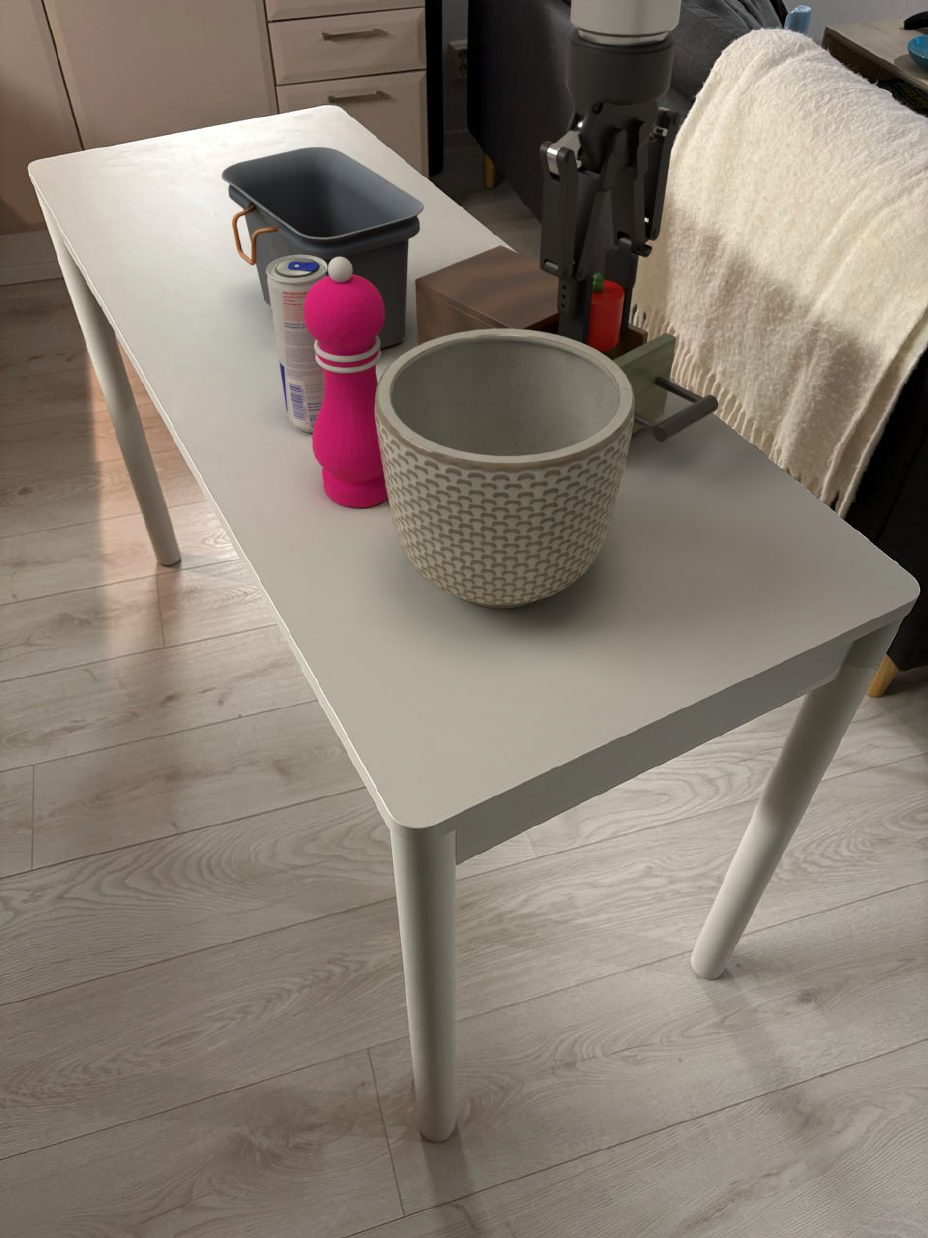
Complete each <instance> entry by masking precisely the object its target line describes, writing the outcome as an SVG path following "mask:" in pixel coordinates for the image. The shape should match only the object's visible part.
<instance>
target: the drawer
mask: <svg viewBox="0 0 928 1238" xmlns="http://www.w3.org/2000/svg"><path fill="white" fill-rule="evenodd" d="M536 331H539V332H546V333H551V334H555V335H558V331H559V320H558V321H556V322H553V323H551V324H549V325H547V326H545V327H543V328H541V329H539V330H536ZM648 338H649V331H648V330H645V329H644V328H641V327H638V326H637V325H634V324H632V323H630V322H629V325H628V331H626V332H624V333H620V336H619V342H618V344H617V345H616V346H615V347H613V348H612V349H609V350H606V351H600V353H602V354H604V355H605V356H607V357H608V358H609V359H611V360H612V361H613V362H614V363H615V364H617V365H618V366H619V367H620V368H621V370H622V371H623V372H624V373H625V374H626V376H627V378H628V379H629V381H630V383H631V385H632V389H633V394H634V399H635V400H634V405H635V409H634V422H633V429H632V434H634V433H635V432H638V431H639V430H641V429H643V428H644V429H645V430H647V431H650V432H651V434H652V437H653V439H654V440H655V441H656V442H658V443H664V442H666V441H668V440H670V439H672V438H673V437H675V436H676V435H678V434H680V433H682V432H683V431H685V430H686V429H688V428H690V427H691V426H693V425H694V424H696V423H698V422H699V421H701V420H704V418H706V417H708V416H709V415H711V414H713V413H714V412H716V411H717V410H718V409H719V401H718V399H717V397H716V396H715V395H712V394H707V395H705V396H701V395H699V394H698V393H695V392H693V391H691V390H689V389H687V388H684V387H683V386H681V385H678V384H677V383H675V382H673V381H670V380H671V375H672V374H671V373H672V368H673V361H674V357H675V356H674V355H675V350H676V344H677V336H675V335H672V334H670V333H668V332H665V333H663V334H661V335H658V336H657V337H655V338H653V339H651V340H649V341H648ZM669 392H670V393H672V394H674V395H676V396H678V397H680V398H682V399H684V400H686V401H688V402H690V403H691V404H689V405H687V407H685V408H682V409H681V410H679V411H678V412H676V413H674V414H673V415H671V416H670V417H667V418H666V419H664V420H662V421H661V422H658V423H657V422H655V421H656V420H658V419H660V418H662V417H663V416H664V415H665V411H666V407H667V400H668V399H667V398H668V393H669Z"/></svg>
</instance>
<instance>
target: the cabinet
mask: <svg viewBox="0 0 928 1238" xmlns="http://www.w3.org/2000/svg"><path fill="white" fill-rule="evenodd" d="M558 283H559V278H558V277H556V276H554V275H552V274H549V273H547V272H545V271H543V270H541V269H540V261H537V260H535V259H533V258H530V257H528V256H527V255H524V254H522V253H519V252H517V251H515V250H512V249H511V248H508V247H506V246H504V245H497V246H495V247H493V248H490V249H488V250H485V251H483V252H480V253H478V254H475V255H473V256H470V257H467V258H465V259H463V260H460V261H458V262H455V263H453V264H450V265H448V266H445V267H443V268H440V269H438V270H435V271H432V272H430V273H427V274H424V275H422V276H420V277H417V278H415V279H414V287H415V289H414V291H415V314H416V335H417V336H416V339H417V346H419V345H421V344H423V343H425V342H428V341H431V340H433V339H436V338H439V337H442V336H446V335H451V334H455V333H459V332H466V331H472V330H482V329H523V330H533V331H536V330H539V329H541V328H543V327H545V326H547V325H549V324H551V323H553V322H556V321H558V320H559V316H560V313H559V312H558V310H557V301H558V300H557V298H558Z"/></svg>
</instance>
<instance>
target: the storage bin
mask: <svg viewBox="0 0 928 1238" xmlns="http://www.w3.org/2000/svg"><path fill="white" fill-rule="evenodd" d="M221 179H222V180H223V181H224V182H226V183H227V184H229V185H228V188H227V190H228V197H229V198H230V200H232V201H233V202H234V203H235V204H237V206H238V207H240V208H242V210H241V211H238V212H236V213H235V214H234V215H233V217H232V219H231V224H232V230H233V236H234V242H235V246H236V250H237V252H238V255H239V257H240V258H241V259H243V260H244V261H245V262H246V263H247V264H249V265H250V266H256V270H257V271H256V272H257V275H258V279H259V283H260V287H261V292H262V296H263V300H264V302H265V303H266V304H267V305H268V306H269V307H271V302H270V296H269V289H268V282H267V277H268V275H267V273H266V269H267V266H268V265H269V264H270V263H271V262H273V261H274V260H276V259H279V258H282V257H286V256H291V255H310V256H315V257H318V258H320V259H322V260H324V261H325V262H326V264H327V266H328V265H329V263H330V261H331V260H332V259H334V258H336V257H343V258H346V259H347V260H349V262H350V263H351V265H352V269H353V272H352V274H354V275H357V276H360V277H363V278H365V279H366V280H368V281H370V282H371V283H372V284H373V285H374V286H375V287H376V288H377V290H378V291H379V293H380V295H381V297H382V300H383V304H384V309H385V320H384V324H383V326H382V329H381V331H380V332H379V333H378V334H377V336H378V337H379V339H380V347H379V348H380V350H382V349H384V348H385V349H386V348H388V347H390V346H394V345H397V344H399V343H401V342H402V341H403V340H404V339H405V336H406V322H407V321H406V318H407V290H408V289H407V288H408V265H409V243H410V241H409V240H410V239H412V238H414V237H416V236H417V234H419V233H420V231H421V223H420V219H419V217H418V216H419V215H420V214H421V213H422V212H423V211H424V208H425V207H424V203H422V202H421V200H419V199H418V198H416V197H414V196H413V195H411V194H410V193H409V192H407V191H405V190H404V189H402V188H400V187H399V186H397V185H395V183H393V182H391V181H389V180H388V179H386V178H384V177H383V176H382V175H380V174H378V173H377V172H375V171H374V170H372V169H371V168H369V167H368V166H366V165H364V164H362V163H361V162H359V161H357V160H356V159H354V158H352V157H350V156H349V155H347V154H346V153H345V152H342V151H340V150H338V149H335V148H331V147H327V146H326V147H325V146H311V147H310V146H309V147H301V148H296V149H293V150H287V151H284V152H280V153H275V154H270V155H265V156H261V157H257V158H253V159H248V160H244V161H240V162H237V163H234V164H231V165H230V166H228V167H225V169H224V170H222V172H221ZM243 216H244V219H245V223H246V227H247V231H248V237H249V240H250V244H251V246H250V248H251V249H250V250H251V252H250V253H251V257H250V256H248V255H246V254H245V252H244V251H243V248H242V243H241V238H240V234H239V229H238V221H239V219H240V218H241V217H243ZM327 272H328V270H327ZM328 274H329V273H328Z"/></svg>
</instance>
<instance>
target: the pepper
mask: <svg viewBox="0 0 928 1238" xmlns="http://www.w3.org/2000/svg"><path fill="white" fill-rule="evenodd" d="M592 277H594V280H593V290H592V301H591V312H590V323H589V334H588V344H587V346H589V347H592V348H594V349H596V350H597V351H599V352H600V351H606V350H609V349H612V348H613V347H615V346H616V345H617V344H618V342H619V336H620V328H621V319H622V311H623V302H624V294H625V293H624V290H623V288H622V287H621V286H620V285H618V284H616V283H614V282H612V281H608V280H604V274H603V273H601V272H597V273H595V274H593V275H592Z"/></svg>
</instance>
